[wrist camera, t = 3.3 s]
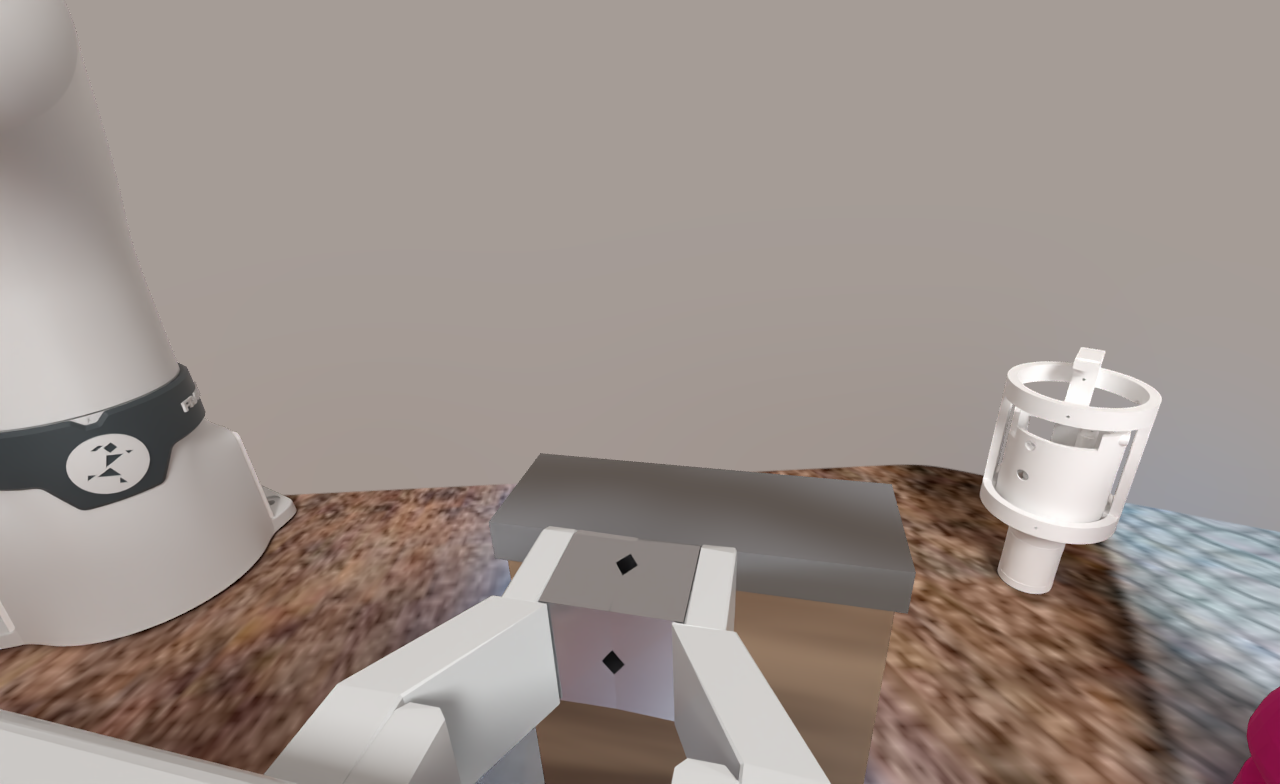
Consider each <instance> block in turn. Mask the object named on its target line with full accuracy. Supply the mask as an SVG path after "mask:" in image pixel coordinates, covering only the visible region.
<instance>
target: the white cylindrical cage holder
mask: <svg viewBox="0 0 1280 784" xmlns="http://www.w3.org/2000/svg"><path fill="white" fill-rule="evenodd" d="M1105 352H1106V351H1103V350H1097V349H1091V348H1085V347H1081V349H1080V351H1079V353H1078V354H1077V356H1076V359H1075V361H1074V363H1067V362H1031V363H1025V364H1021V365H1017V366H1015V367H1013V368H1012V369H1010V370H1009V372H1008V375H1007V379H1006V383H1005V387H1004V392H1003V396H1002V400H1001V404H1000V409H999V413H998V417H997V421H996V426H995V430H994V435H993V439H992V443H991V447H990V451H989V456H988V460H987V464H986V469H985V473H984V477H983V481H982V485H981V490H980V498H981V501H982V503H983V505H984V506H985V507H986V508H987V510H988V511H989V512H990V513H992V514H993V515H994V516H995V517H997V518H998V519H999V520H1001V521H1002V522H1004V523H1006V524H1007V525H1009V527H1008V531H1007V536H1006V540H1005V544H1004V547H1003V551H1002V555H1001V559H1000V561H999V565H998V569H997V571H998V574H999V576H1000V578H1001V579H1002V580H1003V581H1004V582H1005V583H1007V584H1008V585H1010V586H1011V587H1013V588H1015V589H1017V590H1020V591H1023V592H1026V593H1031V594H1043V593H1046V592H1048V591H1050V590H1051V588H1052V585H1053V582H1054V577H1055V574H1056V571H1057V568H1058V565H1059V562H1060V559H1061V555H1062V552H1063V550H1064V547H1065V544H1066V543H1068V544H1092V543H1097V542H1101V541H1104V540H1106V539H1108V538H1110V537H1111V536H1112V535H1113V534H1114V532H1115V530H1116V527H1117V524H1118V521H1119V518H1120V516H1121V513H1122V510H1123V507H1124V504H1125V502H1126V499H1127V496H1128V493H1129V490H1130V488H1131V485H1132V482H1133V479H1134V477H1135V474H1136V471H1137V468H1138V465H1139V463H1140V460H1141V457H1142V454H1143V451H1144V449H1145V446H1146V443H1147V440H1148V437H1149V435H1150V432H1151V429H1152V426H1153V424H1154V421H1155V418H1156V415H1157V412H1158V410H1159V407H1160V404H1161V401H1162V397H1161V395H1160V394H1159V393H1158V391H1157V390H1155V389H1154V388H1153V387H1151V386H1150V385H1148V384H1146V383H1145V382H1143V381H1140V380H1138V379H1136V378H1133V377H1131V376H1128V375H1125V374H1122V373H1119V372H1115V371H1112V370H1108V369H1104V368H1101V365H1102V361H1103V358H1104V355H1105ZM1033 381H1034V382H1035V381H1061V382H1070V385H1069V388H1068V392H1067V396H1066V398H1065V401H1059V400H1056V399H1053V398H1050V397H1047V396H1044V395H1042V394H1039V393H1037V392H1035V391H1033V390H1031V389H1029V388H1027V387H1026V386H1024V385H1023V384H1024V383H1028V382H1033ZM1095 387H1096V388H1100V389H1103V390H1106V391H1109V392H1112V393H1115V394H1118V395H1120V396H1123V397H1124V398H1127V399H1128V400H1130V401H1132V402H1133V403H1137V404H1140V406H1136V407H1130V408H1099V407H1089V404H1090V401H1091V398H1092V394H1093V391H1094V388H1095ZM1012 405H1015V406H1016V407H1015V409H1014V413H1013V418H1012V422H1011V425H1010V430H1009V434H1008V438H1007V442H1006V446H1005V450H1004V454H1003V458H1002V462H1001V464H1000V465H998V462H999V458H1000V454H1001V450H1002V446H1003V442H1004V438H1005V433H1006V430H1007V426H1008V422H1009V418H1010V413H1011V410H1012ZM1031 416H1034V417H1038V418H1042V419H1045V420H1048V421H1051V422H1055V426H1054V430H1053V433H1052V437H1051V440H1050V441H1048V440H1045V439H1042V438H1040V437H1038V436H1036V435H1034V434H1032V433H1030V432H1028V431H1027V429H1028V425H1029V421H1030V417H1031ZM1132 430H1137V431H1136V434H1135V437H1134V440H1133V442H1132V445H1131V448H1130V451H1129V454H1128V457H1127V460H1126V463H1125V465H1124V468H1123V471H1122V474H1121V477H1120V480H1119V483H1118V486H1117V488H1116V491H1115V494H1114V496H1113V495H1112V494H1111V493H1110V492H1111V489H1112V486H1113V484H1114V481H1115V477H1116V475H1117V472H1118V469H1119V466H1120V463H1121V460H1122V457H1123V454H1124V451H1125V449H1126V446H1127V445H1128V442H1129V439H1130V433H1131V431H1132ZM1113 431H1120V432H1116V433H1114V432H1113ZM1027 441H1031V442H1032V443H1034V444H1035V447H1034V446H1032V444H1031V443H1030V442H1029V443H1027Z"/></svg>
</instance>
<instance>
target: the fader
mask: <svg viewBox="0 0 1280 784" xmlns="http://www.w3.org/2000/svg"><path fill="white" fill-rule="evenodd" d="M549 526H553V527H561V528H568V529H575V530H585V531H592V532H599V533H606V534H613V535H620V536H627V537H635V538H639V539H649V540H658V541H666V542H675V543H684V544H693V545H702V546H703V545H711V546H722V547H733V548H735V549H736V550H737V572H736V598H735V619H734V632H737V634H738V636H739V637H740V639H741V640H742V642H743V644H744V645H745V647H746V648H747V650H748V652H749V653H750V655H751V656H752V658H753V660H754V661H755V663H756V664H757V666H758V668H759V669H760V671H761V672H762V674H763V676H764V677H765V679H766V680H767V682H768V684H769V685H770V687H771V688H772V690H773V692H774V693H775V695H776V696H777V698H778V700H779V701H780V703H781V704H782V706H783V708H784V709H785V711H786V712H787V714H788V716H789V717H790V719H791V720H792V722H793V724H794V725H795V727H796V728H797V730H798V732H799V733H800V735H801V736H802V738H803V740H804V741H805V743H806V744H807V746H808V748H809V749H810V751H811V752H812V754H813V756H814V757H815V759H816V760H817V762H818V764H819V765H820V767H821V768H822V770H823V772H824V773H825V775H826V776H827V778H828V780H829V781H830V783H831V784H863V783H864V778H865V772H866V767H867V761H868V756H869V750H870V745H871V739H872V734H873V729H874V723H875V718H876V712H877V707H878V701H879V696H880V690H881V685H882V679H883V674H884V668H885V663H886V657H887V652H888V646H889V641H890V635H891V630H892V624H893V619H894V613H895V612H901V613H908V609H909V604H910V599H911V594H912V589H913V584H914V579H915V573H916V572H915V569H914V565H913V561H912V558H911V554H910V550H909V546H908V543H907V539H906V535H905V532H904V528H903V524H902V521H901V517H900V513H899V510H898V506H897V502H896V499H895V495H894V491H893V488H892V484H882V483H870V482H859V481H848V480H836V479H825V478H814V477H802V476H791V475H779V474H768V473H757V472H745V471H734V470H722V469H711V468H700V467H689V466H677V465H665V464H654V463H643V462H631V461H620V460H608V459H598V458H586V457H574V456H564V455H552V454H540V455H539V456H538V458H537V459H536V460H535V462H534V463H533V464H532V465H531V467H530V468H529V469H528V471H527V472H526V473H525V475H524V476H523V477H522V479H521V480H520V481H519V483H518V484H517V485H516V487H515V488H514V489H513V491H512V492H511V493H510V495H509V496H508V497H507V499H506V500H505V501H504V503H503V504H502V505H501V507H500V508H499V509H498V510H497V512H496V513H495V514H494V516H493V517H492V518H491V520H490V521H489V527H490V532H491V538H492V543H493V549H494V555H495V559H503V560H508V563H509V569H510V575H511V580H512V579H513V577H514V575H515V574H516V572H517V571H518V569H519V567H520V566H521V564H522V563H523V561H524V559H525V558H526V556H527V554H528V553H529V551H530V550H531V548H532V546H533V545H534V543H535V541H536V540H537V538H538V537H539V535H540V533H541V532H542V531H543V530H544V529H545V528H547V527H549ZM536 732H537V738H538V744H539V750H540V756H541V762H542V768H543V774H544V780H545V784H671V783H672V778H673V773H674V768H675V767H676V766H677V765H678V764H680V763H681V762H683V761H684V760H685V759H687V757H686V755H685V752H684V749H683V746H682V744H681V741H680V738H679V735H678V732H677V730H676V727H675V721H671V720H666V719H661V718H657V717H652V716H648V715H643V714H638V713H634V712H629V711H625V710H620V709H615V708H609V707H602V706H596V705H590V704H583V703H577V702H570V701H564V700H560V704H559V705H558V706H557V707H556V708H555V709H554V710H553V711H552V712H551V713H549V714H548V715H547V716H546V717H545V718H544V719H543V720H542V721H541V722H540V723H539V724H538V725H537V726H536Z"/></svg>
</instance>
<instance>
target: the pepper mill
mask: <svg viewBox="0 0 1280 784" xmlns="http://www.w3.org/2000/svg"><path fill="white" fill-rule="evenodd" d="M1247 741H1248V746H1249V750H1250V753H1251V756H1252V757H1250V758H1249V759H1248V760H1247V761H1246V762H1245V763H1244V765H1243V767H1242V768H1241V770H1240V772H1239V774H1238V775H1237V777H1236V779H1235V780H1234V782H1233V784H1280V687H1278V688H1277V689H1275V690H1274V691H1272V692H1271V693H1270V694H1269V695H1268V696H1267V697H1266V698H1265V699H1264V700H1263V701H1262V702H1261V704H1260V705H1259V706H1258V708H1257V709H1256V710H1255V712H1254V713H1253V715H1252V716H1251V717H1250V720H1249V723H1248V728H1247Z"/></svg>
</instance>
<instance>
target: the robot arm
mask: <svg viewBox="0 0 1280 784" xmlns="http://www.w3.org/2000/svg"><path fill="white" fill-rule="evenodd" d="M199 396H200V392H199V389H198V387H197V385H196V383H195V382H193V380H192V378H191V376H190V373H189V371H188V369H187V367H186V366H184V365H182V364H180V363H178V362H177V360H176V357H175V355H174V352H173V350H172V347H171V345H170V342H169V340H168V337H167V334H166V332H165V329H164V327H163V324H162V322H161V319H160V316H159V314H158V311H157V309H156V306H155V304H154V301H153V298H152V295H151V293H150V290H149V288H148V285H147V283H146V280H145V277H144V275H143V272H142V269H141V267H140V264H139V261H138V258H137V255H136V252H135V249H134V246H133V243H132V240H131V236H130V232H129V228H128V223H127V219H126V214H125V210H124V205H123V201H122V197H121V193H120V188H119V184H118V180H117V176H116V172H115V168H114V164H113V160H112V157H111V153H110V149H109V145H108V142H107V138H106V135H105V131H104V127H103V124H102V120H101V117H100V113H99V110H98V107H97V103H96V100H95V97H94V93H93V90H92V86H91V83H90V80H89V77H88V74H87V70H86V67H85V64H84V61H83V57H82V53H81V48H80V43H79V40H78V35H77V31H76V28H75V26H74V22H73V20H72V17H71V14H70V12H69V9H68V7H67V4H66V3H65V1H64V0H0V649H5V648H10V647H15V646H20V645H24V644H40V645H50V646H79V645H87V644H94V643H99V642H104V641H108V640H113V639H116V638H120V637H124V636H127V635H131V634H134V633H137V632H140V631H143V630H145V629H148V628H151V627H153V626H156V625H158V624H161V623H163V622H166V621H168V620H170V619H172V618H175V617H177V616H179V615H181V614H183V613H185V612H187V611H189V610H191V609H193V608H195V607H196V606H198V605H200V604H202V603H204V602H205V601H207V600H209V599H210V598H212V597H214V596H215V595H217V594H218V593H220V592H221V591H223V590H224V589H226V588H227V587H228V586H230V585H231V584H232V583H234V582H235V581H236V580H237V579H239V578H240V577H241V576H242V575H243V574H244V573H246V572H247V571H248V570H249V569H250V568H251V567H252V566H253V565H254V564H255V563H256V561H257V560H258V559H259V558H260V556H261V555H262V554H263V552H264V550H265V549H266V547H267V545H268V543H269V541H270V539H271V538H272V536H273V535H274V533H275V532H276V531H277V530H278V529H279V528H281V527H282V526H283V525H284V524H285V523H286V522H288V521H289V520H290V519H291V518H292V517H293V516H294V514H295V513H296V507H295V505H294V503H293V501H292V500H291V499H290V498H288V497H286V496H284V495H281V494H279V493H277V492H275V491H273V490H271V489H268V488H266V487H264V486H262V485H261V484H260V482H259V479H258V477H257V474H256V472H255V470H254V467H253V465H252V462H251V460H250V458H249V455H248V453H247V451H246V448H245V446H244V443H243V441H242V439H241V437H240V435H239V434H238V433H237V432H235V431H230V430H229V429H228V428H226V427H224V426H220V425H217V424H214V423H212V422H210V421H209V420H207V419H206V418H204V416H205V410H204V407H203V405H202V402H201V399H200V397H199ZM736 572H737V550H736V549H735V548H733V547H722V546H711V545H703V546H702V545H693V544H684V543H675V542H666V541H658V540H649V539H639V538H635V537H627V536H620V535H613V534H606V533H599V532H592V531H585V530H575V529H568V528H561V527H553V526H549V527H547V528H545V529H544V530H543V531H542V532H541V533H540V535H539V537H538V538H537V540H536V541H535V543H534V545H533V546H532V548H531V550H530V551H529V553H528V554H527V556H526V558H525V559H524V561H523V563H522V564H521V566H520V567H519V569H518V571H517V572H516V574H515V575H514V577H513V579H512V580H511V582H510V584H509V585H508V587H507V588H506V590H505V592H504V593H503V595H502V597H499V596H491V597H489V598H487V599H485V600H484V601H482V602H480V603H478V604H477V605H475V606H473V607H471V608H470V609H468V610H466V611H464V612H463V613H461V614H459V615H457V616H456V617H454V618H452V619H450V620H449V621H447V622H445V623H443V624H442V625H440V626H438V627H436V628H435V629H433V630H431V631H429V632H427V633H426V634H424V635H422V636H420V637H419V638H417V639H415V640H413V641H412V642H410V643H408V644H406V645H405V646H403V647H401V648H399V649H398V650H396V651H394V652H392V653H391V654H389V655H387V656H385V657H384V658H382V659H380V660H378V661H377V662H375V663H373V664H371V665H370V666H368V667H366V668H364V669H363V670H361V671H359V672H357V673H356V674H354V675H352V676H350V677H348V678H347V679H345V680H343V681H341V682H340V683H338V684H337V685H336V686H335V687H334V689H333V690H332V691H331V692H330V693H329V695H328V696H327V697H326V698H325V700H324V701H323V702H322V703H321V705H320V706H319V707H318V708H317V709H316V711H315V712H314V713H313V714H312V716H311V717H310V718H309V719H308V721H307V722H306V723H305V724H304V725H303V727H302V728H301V729H300V730H299V732H298V733H297V734H296V735H295V736H294V738H293V739H292V740H291V741H290V743H289V744H288V745H287V746H286V748H285V749H284V750H283V751H282V752H281V754H280V755H279V756H278V757H277V759H276V760H275V761H274V762H273V764H272V765H271V766H270V767H269V768H268V770H267V771H266V772H265V773H264V775H262V774H258V773H254V772H250V771H246V770H242V769H238V768H234V767H230V766H226V765H222V764H218V763H214V762H210V761H206V760H202V759H198V758H194V757H190V756H186V755H182V754H178V753H174V752H170V751H166V750H162V749H158V748H154V747H150V746H146V745H142V744H138V743H134V742H130V741H126V740H122V739H118V738H114V737H110V736H105V735H101V734H97V733H93V732H89V731H85V730H81V729H77V728H73V727H69V726H65V725H61V724H57V723H53V722H49V721H45V720H41V719H37V718H33V717H29V716H25V715H21V714H17V713H13V712H9V711H5V710H1V709H0V784H475V783H476V782H477V781H478V780H479V779H480V778H481V777H482V776H483V775H484V774H485V773H486V772H487V771H489V770H490V769H491V768H492V767H493V766H494V765H495V764H496V763H497V762H498V761H499V760H500V759H501V758H502V757H503V756H505V755H506V754H507V753H508V752H509V751H510V750H511V749H512V748H513V747H514V746H515V745H516V744H517V743H518V742H520V741H521V740H522V739H523V738H524V737H525V736H526V735H527V734H528V733H529V732H530V731H531V730H532V729H533V728H535V727H536V726H537V725H538V724H539V723H540V722H541V721H542V720H543V719H544V718H545V717H546V716H547V715H548V714H549V713H551V712H552V711H553V710H554V709H555V708H556V707H557V706H558V705H559V704H560V700H564V701H570V702H577V703H583V704H590V705H596V706H602V707H609V708H615V709H620V710H625V711H629V712H634V713H638V714H643V715H648V716H652V717H657V718H661V719H666V720H671V721H675V727H676V730H677V732H678V735H679V738H680V741H681V744H682V746H683V749H684V752H685V755H686V757H687V759H685V760H684V761H683V762H681V763H680V764H678V765H677V766H676V767H675V768H674V773H673V778H672V783H671V784H831V783H830V781H829V780H828V778H827V776H826V775H825V773H824V772H823V770H822V768H821V767H820V765H819V764H818V762H817V760H816V759H815V757H814V756H813V754H812V752H811V751H810V749H809V748H808V746H807V744H806V743H805V741H804V740H803V738H802V736H801V735H800V733H799V732H798V730H797V728H796V727H795V725H794V724H793V722H792V720H791V719H790V717H789V716H788V714H787V712H786V711H785V709H784V708H783V706H782V704H781V703H780V701H779V700H778V698H777V696H776V695H775V693H774V692H773V690H772V688H771V687H770V685H769V684H768V682H767V680H766V679H765V677H764V676H763V674H762V672H761V671H760V669H759V668H758V666H757V664H756V663H755V661H754V660H753V658H752V656H751V655H750V653H749V652H748V650H747V648H746V647H745V645H744V644H743V642H742V640H741V639H740V637H739V636H738V634H737V632H734V619H735V598H736Z"/></svg>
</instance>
